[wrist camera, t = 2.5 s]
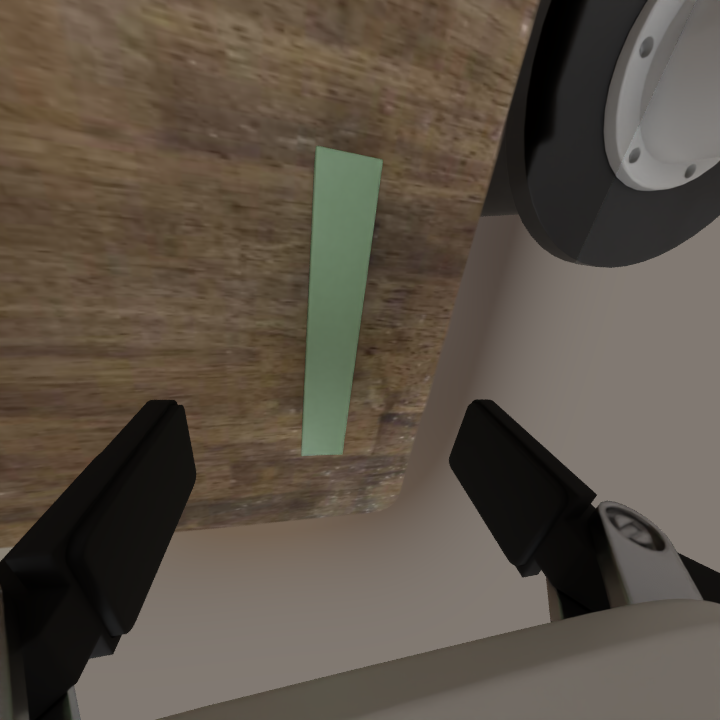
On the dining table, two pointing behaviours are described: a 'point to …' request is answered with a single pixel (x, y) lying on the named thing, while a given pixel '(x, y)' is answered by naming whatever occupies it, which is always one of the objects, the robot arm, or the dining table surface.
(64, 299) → the dining table surface
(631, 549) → the robot arm
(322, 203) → the bar
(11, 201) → the dining table surface
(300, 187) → the dining table surface
